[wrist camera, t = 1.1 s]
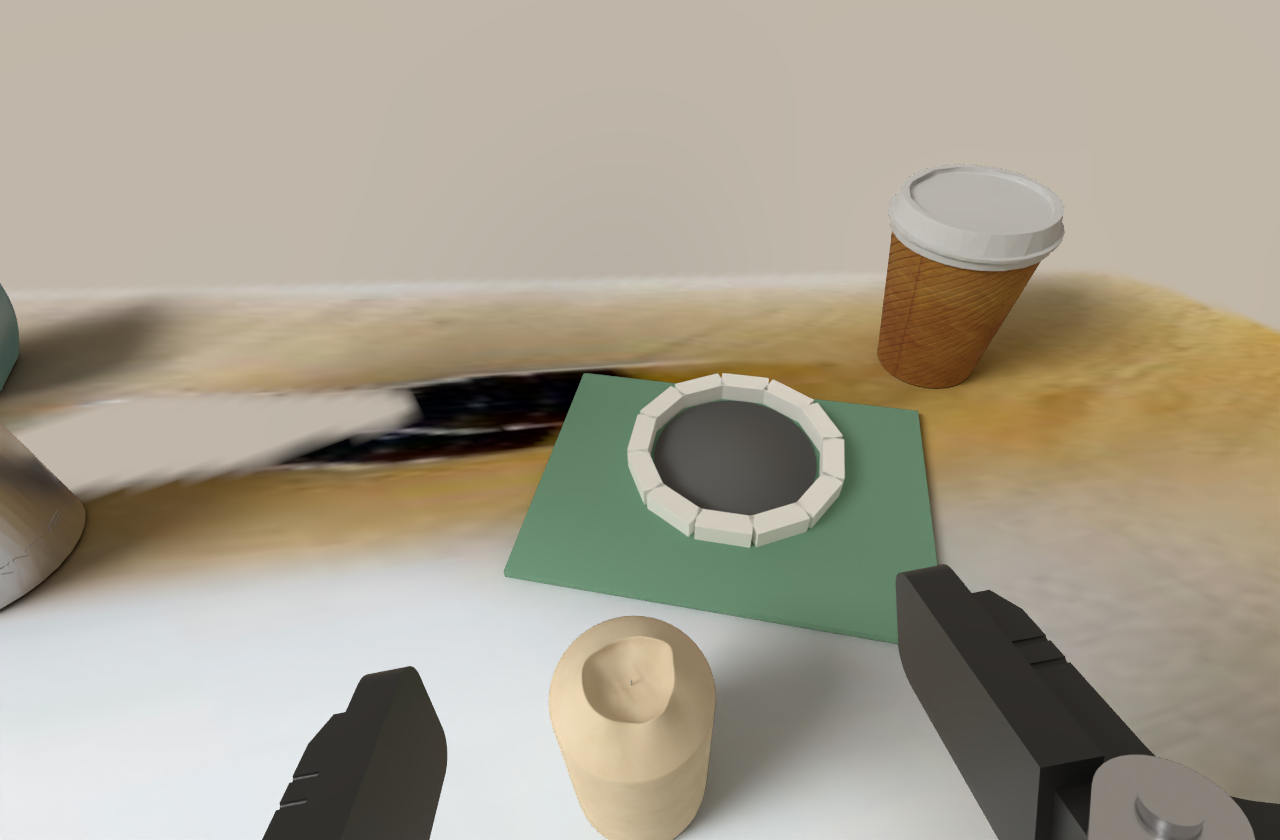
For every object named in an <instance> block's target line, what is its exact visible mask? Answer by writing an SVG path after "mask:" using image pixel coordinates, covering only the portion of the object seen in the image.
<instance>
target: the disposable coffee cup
mask: <svg viewBox="0 0 1280 840" xmlns="http://www.w3.org/2000/svg"><path fill="white" fill-rule="evenodd" d="M1063 212H1064V206H1063V203H1062V200H1061V199H1060V198H1059V197H1058V195H1057V194H1056V193H1054V192H1053V191H1052V190H1051V189H1050V188H1048V187H1047V186H1045V185H1044V184H1042V183H1040V182H1039V181H1037V180H1034V179H1032V178H1029V177H1027V176H1024V175H1022V174H1019V173H1015V172H1012V171H1008V170H1004V169H1000V168H995V167H988V166H981V165H965V164H955V165H943V166H938V167H933V168H927V169H924V170H922V171H919V172H917V173H915V174H913V175H912V176H910V177H909V178H908V179H907V180H906V181H905V183H904V185H903V187H902V188H901V190H900V192H899V193H898V194H897V195H895V197H894V198H893V199H892V200H891V202H890V205H889V212H888V216H889V218H890V225H891V228H892V235H891V245H890V253H889V261H888V269H887V278H886V286H885V294H884V302H883V311H882V319H881V327H880V328H881V329H880V335H879V344H878V350H877V354H878V358H879V360H880V362H881V364H882V365H883V367H884V368H885V369H886V370H887V371H888V372H889V373H891V374H892V375H894V376H895V377H897V378H899V379H900V380H903V381H905V382H907V383H910V384H913V385H916V386H921V387H926V388H945V387H951V386H955V385H957V384H959V383H961V382H963V381H964V380H966V379H967V378H968V377H969V375H970V374H971V372H972V370H973V369H974V367H975V365H976V364H977V362H978V361H979V359H980V357H981V356H982V354H983V353H984V351H985V349H986V348H987V346H988V345H989V343H990V342H991V340H992V338H993V337H994V335H995V334H996V332H997V331H998V329H999V327H1000V326H1001V324H1002V323H1003V321H1004V319H1005V318H1006V316H1007V314H1008V313H1009V311H1010V310H1011V308H1012V307H1013V305H1014V303H1015V302H1016V300H1017V299H1018V297H1019V296H1020V294H1021V293H1022V291H1023V289H1024V287H1025V286H1026V284H1027V283H1028V281H1029V279H1030V278H1031V276H1032V275H1033V273H1034V271H1035V270H1036V268H1037V267H1038V265H1039V263H1040V262H1041V261H1042V260H1043V259H1044V258H1045V257H1047V256H1048V255H1049V254H1050V252H1052V251H1054V250H1055V249H1056V248H1057V246H1059V244H1060V243H1061V241H1062V239H1063V235H1064V225H1063V223H1062V218H1063Z"/></svg>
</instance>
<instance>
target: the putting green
mask: <svg viewBox="0 0 1280 840" xmlns="http://www.w3.org/2000/svg"><path fill="white" fill-rule="evenodd" d="M768 381H769V378H764V377H754V376H745V375H736V374H727V373H722V379H721V377H720V376H719V374H718V373H717V374H713V375H709V376H705V377H701V378H697V379H693V380H689V381H685V382H681V383H668V382H659V381H650V380H641V379H632V378H624V377H615V376H606V375H597V374H588V373H584V374H583V377H582V379H581V382H580V384H579V387H578V389H577V392H576V394H575V397H574V399H573V401H572V404H571V406H570V409H569V411H568V414H567V416H566V419H565V421H564V424H563V426H562V429H561V431H560V434H559V436H558V438H557V441H556V443H555V446H554V448H553V451H552V453H551V456H550V458H549V461H548V463H547V466H546V468H545V471H544V473H543V475H542V478H541V480H540V483H539V485H538V488H537V490H536V493H535V495H534V498H533V500H532V503H531V505H530V508H529V510H528V512H527V515H526V517H525V520H524V522H523V525H522V527H521V530H520V532H519V535H518V537H517V540H516V542H515V545H514V547H513V549H512V552H511V554H510V557H509V559H508V562H507V564H506V567H505V569H504V574H505V577H511V578H517V579H523V580H528V581H534V582H540V583H546V584H552V585H557V586H563V587H569V588H575V589H581V590H587V591H592V592H598V593H604V594H610V595H616V596H622V597H627V598H633V599H639V600H645V601H651V602H657V603H662V604H668V605H674V606H680V607H686V608H692V609H697V610H703V611H709V612H715V613H721V614H727V615H732V616H738V617H744V618H750V619H756V620H762V621H767V622H773V623H779V624H785V625H791V626H797V627H802V628H808V629H814V630H820V631H826V632H832V633H837V634H843V635H849V636H855V637H861V638H867V639H872V640H878V641H884V642H890V643H896V644H898V628H897V606H896V576H897V574H898V573H901V572H906V571H911V570H917V569H922V568H927V567H932V566H937V559H936V551H935V543H934V535H933V527H932V519H931V511H930V503H929V495H928V487H927V479H926V471H925V463H924V455H923V447H922V439H921V431H920V423H919V415H918V411H915V410H906V409H897V408H888V407H880V406H871V405H862V404H853V403H844V402H835V401H827V400H818V399H811V398H809V397H807V396H805V395H803V394H801V393H799V392H798V391H796V390H794V389H792V388H790V387H788V386H786V385H784V384H782V383H780V382H778V381H776V380H774V379H773V380H772V381H771V382H770V383H769V384H768Z"/></svg>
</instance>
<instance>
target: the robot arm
mask: <svg viewBox="0 0 1280 840" xmlns="http://www.w3.org/2000/svg"><path fill="white" fill-rule="evenodd" d="M85 513H86V512H85V509H84V506H83V504H82V502H81V501H80V500H79V499H78V498H77V497H76V496H75V495H74V494H73V493H72V492H71V491H70V490H69V489H68V488H67V487H66V486H65V485H64V484H63V483H62V482H61V481H60V480H59V479H58V478H57V477H56V476H55V475H54V474H53V473H52V472H50V471H49V469H47V468H46V467H45V466H44V465H43V464H42V463H41V462H40V461H39V460H38V459H37V458H36V457H35V455H33V453H32V452H30V450H28V449H27V448H26V447H25V446H24V445H23V444H22V443H21V442H20V441H19V440H18V439H17V438H16V437H15V436H14V435H13V434H12V433H11V432H10V431H9V430H8V429H7V428H6V427H5V426H4V425H2V424H1V423H0V609H1V608H3V607H5V606H6V605H8V604H10V603H11V602H13V601H15V600H16V599H18V598H20V597H21V596H23V595H25V594H26V593H27V592H29V591H30V590H32V589H33V588H34V587H36V586H37V585H38V584H40V583H41V582H42V581H44V580H45V579H46V578H47V577H48V576H49V575H50V574H51V573H52V572H53V571H54V570H56V569H57V568H58V567H59V566H60V565H61V564H62V562H63V561H64V560H65V559H66V558H67V556H68V555H69V554H70V553H71V552H72V550H73V549H74V547H75V545H76V544H77V542H78V540H79V538H80V537H81V534H82V531H83V528H84V525H85ZM896 606H897V628H898V647H899V653H900V657H901V661H902V665H903V668H904V671H905V673H906V676H907V678H908V680H909V683H910V685H911V686H912V688H913V690H914V692H915V694H916V695H917V697H918V699H919V701H920V702H921V704H922V706H923V708H924V709H925V711H926V713H927V715H928V716H929V718H930V720H931V722H932V723H933V725H934V727H935V729H936V730H937V732H938V734H939V736H940V737H941V739H942V741H943V743H944V744H945V746H946V748H947V750H948V751H949V753H950V755H951V757H952V758H953V760H954V762H955V764H956V765H957V767H958V769H959V771H960V772H961V774H962V776H963V778H964V779H965V781H966V783H967V785H968V787H969V788H970V790H971V792H972V794H973V795H974V797H975V799H976V801H977V802H978V804H979V806H980V808H981V809H982V811H983V813H984V815H985V816H986V818H987V820H988V822H989V823H990V825H991V827H992V829H993V830H994V832H995V834H996V836H997V837H998V839H999V840H1280V804H1273V803H1265V802H1256V801H1250V800H1244V799H1239V798H1235V797H1232V796H1229V795H1228V794H1227V793H1226V792H1224V791H1223V790H1222V789H1221V788H1220V787H1219V786H1217V785H1216V784H1215V783H1213V782H1212V781H1210V780H1209V779H1208V778H1206V777H1204V776H1203V775H1201V774H1199V773H1197V772H1196V771H1194V770H1192V769H1190V768H1188V767H1185V766H1183V765H1181V764H1178V763H1176V762H1173V761H1170V760H1167V759H1163V758H1159V757H1156V756H1155V755H1154V754H1153V753H1152V752H1151V751H1150V750H1149V749H1148V748H1147V747H1146V746H1145V745H1144V744H1143V743H1142V742H1141V741H1140V740H1139V738H1138V737H1137V736H1136V735H1135V734H1134V733H1133V732H1132V731H1131V730H1130V728H1129V727H1128V726H1127V725H1126V724H1125V723H1124V722H1123V721H1122V720H1121V718H1120V717H1119V716H1118V715H1117V714H1116V713H1115V712H1114V711H1113V710H1112V708H1111V707H1110V706H1109V705H1108V704H1107V703H1106V702H1105V701H1104V700H1103V698H1102V697H1101V696H1100V695H1099V694H1098V693H1097V692H1096V691H1095V690H1094V688H1093V687H1092V686H1091V685H1090V684H1089V683H1088V682H1087V681H1086V680H1085V678H1084V677H1083V676H1082V675H1081V674H1080V673H1079V672H1078V671H1077V669H1076V668H1075V667H1074V666H1073V665H1072V664H1071V663H1067V661H1066V659H1065V656H1064V655H1063V654H1062V653H1061V652H1060V651H1059V649H1058V648H1057V647H1056V646H1055V645H1054V644H1053V643H1052V642H1051V641H1050V640H1049V641H1048V640H1047V639H1046V635H1045V634H1044V633H1043V632H1042V631H1041V629H1040V628H1039V627H1038V626H1037V625H1036V624H1035V623H1034V622H1033V621H1032V619H1031V618H1030V617H1029V616H1028V615H1027V614H1026V613H1025V612H1024V611H1023V609H1021V608H1019V607H1018V606H1016V605H1014V604H1013V603H1011V602H1009V601H1007V600H1006V599H1004V598H1002V597H1001V596H999V595H997V594H996V593H994V592H992V591H990V590H986V591H981V592H976V593H971V592H970V591H969V590H968V588H967V587H966V586H965V585H964V583H963V582H962V581H961V580H960V579H959V577H958V576H957V575H956V574H955V572H954V571H953V570H952V569H951V568H950V567H949V566H947V565H945V564H942V565H937V566H932V567H927V568H922V569H917V570H911V571H906V572H901V573H898V574H897V576H896ZM446 767H447V744H446V738H445V734H444V731H443V728H442V726H441V723H440V721H439V719H438V716H437V714H436V712H435V710H434V707H433V705H432V703H431V700H430V698H429V696H428V694H427V691H426V689H425V687H424V685H423V682H422V680H421V678H420V675H419V673H418V672H417V670H416V669H415V668H414V667H411V666H408V667H403V668H398V669H393V670H388V671H383V672H378V673H372V674H367V675H365V676H364V677H362V679H361V680H360V682H359V683H358V685H357V688H356V690H355V692H354V694H353V697H352V699H351V701H350V703H349V706H348V708H347V710H346V712H344V713H339V714H334V715H333V716H332V717H331V718H330V720H329V721H328V722H327V723H326V724H325V725H324V726H323V728H322V729H321V730H320V731H319V732H318V733H317V735H316V736H315V737H314V738H313V739H312V740H311V742H310V743H309V744H308V746H307V748H306V750H305V752H304V754H303V756H302V758H301V760H300V762H299V764H298V766H297V768H296V770H295V773H294V775H293V782H292V783H289V785H288V787H287V789H286V791H285V793H284V795H283V797H282V799H281V802H280V809H279V810H276V812H275V814H274V816H273V818H272V820H271V822H270V824H269V826H268V829H267V831H266V833H265V835H264V837H263V839H262V840H429V839H430V835H431V830H432V826H433V822H434V818H435V814H436V810H437V806H438V802H439V798H440V793H441V789H442V785H443V781H444V777H445V773H446Z"/></svg>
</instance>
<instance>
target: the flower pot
mask: <svg viewBox="0 0 1280 840" xmlns="http://www.w3.org/2000/svg"><path fill="white" fill-rule="evenodd" d="M18 356H19V331H18V324H17V319H16V315H15V312H14V309H13V306H12V304H11V302H10V299H9V297H8V296H7V294H6V292H5V290H4V289H3V287H2V286H1V284H0V391H1V390H2V388H3V386H4V384H5V382H6V380H7V378H8V376H9V374H10V372H11V370H12V368H13V366H14V364H15V362H16V360H17V358H18Z"/></svg>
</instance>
